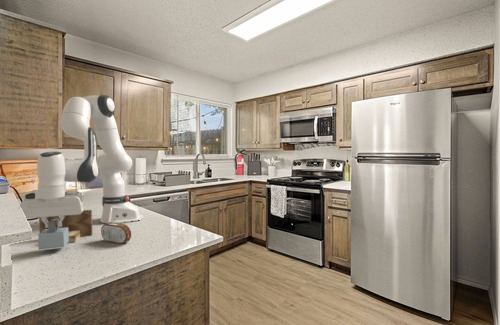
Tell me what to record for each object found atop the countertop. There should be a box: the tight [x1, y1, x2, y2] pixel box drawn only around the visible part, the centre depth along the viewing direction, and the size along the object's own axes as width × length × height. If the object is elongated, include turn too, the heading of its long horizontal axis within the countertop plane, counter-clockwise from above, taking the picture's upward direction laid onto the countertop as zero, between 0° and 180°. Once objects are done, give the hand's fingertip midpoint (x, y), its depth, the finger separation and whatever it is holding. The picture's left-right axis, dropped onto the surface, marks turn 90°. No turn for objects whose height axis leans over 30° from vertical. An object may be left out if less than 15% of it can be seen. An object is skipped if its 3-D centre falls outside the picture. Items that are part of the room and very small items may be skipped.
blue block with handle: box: [37, 219, 69, 251], centre depth 100 cm, size 8×6×10 cm
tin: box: [100, 222, 132, 245], centre depth 110 cm, size 15×3×8 cm, turn 71°
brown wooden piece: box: [38, 209, 93, 244], centre depth 112 cm, size 20×10×12 cm, turn 111°
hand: (53, 227), depth 100 cm, fingers closed on blue block with handle
